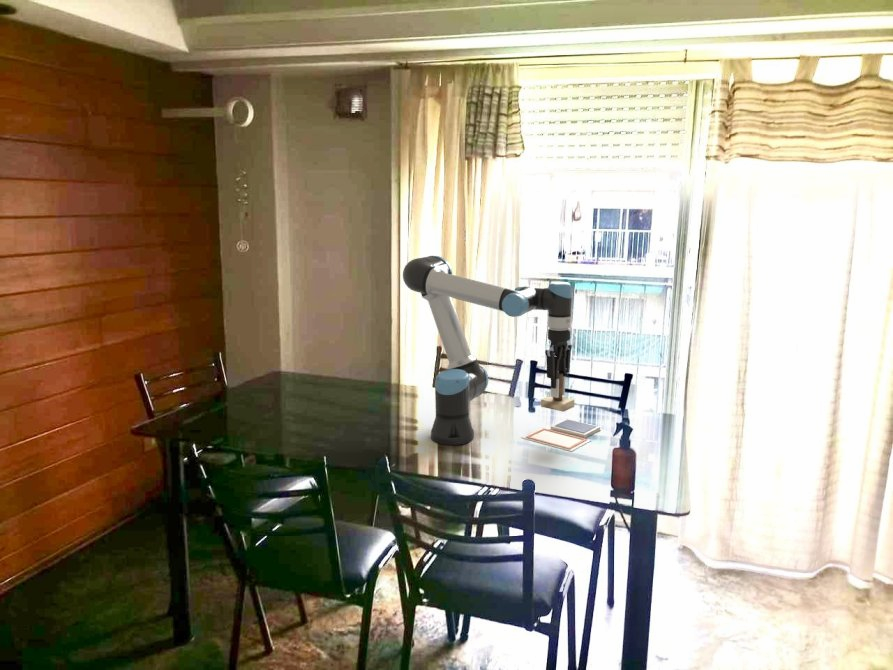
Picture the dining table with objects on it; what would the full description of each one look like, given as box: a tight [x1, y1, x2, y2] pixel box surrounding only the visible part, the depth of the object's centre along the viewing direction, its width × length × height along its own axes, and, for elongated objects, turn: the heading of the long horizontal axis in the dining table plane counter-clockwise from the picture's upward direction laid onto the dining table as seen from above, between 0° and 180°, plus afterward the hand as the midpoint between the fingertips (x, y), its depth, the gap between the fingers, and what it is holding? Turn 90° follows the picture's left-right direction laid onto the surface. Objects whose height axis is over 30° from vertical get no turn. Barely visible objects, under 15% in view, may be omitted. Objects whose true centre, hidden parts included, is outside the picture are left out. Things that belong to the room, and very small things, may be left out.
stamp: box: [540, 372, 575, 413], centre depth 226 cm, size 9×7×12 cm
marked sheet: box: [521, 427, 592, 452], centre depth 230 cm, size 20×13×1 cm, turn 49°
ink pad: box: [550, 418, 601, 439], centre depth 239 cm, size 14×11×1 cm
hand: (557, 395), depth 227 cm, fingers closed on stamp, 3 cm apart
